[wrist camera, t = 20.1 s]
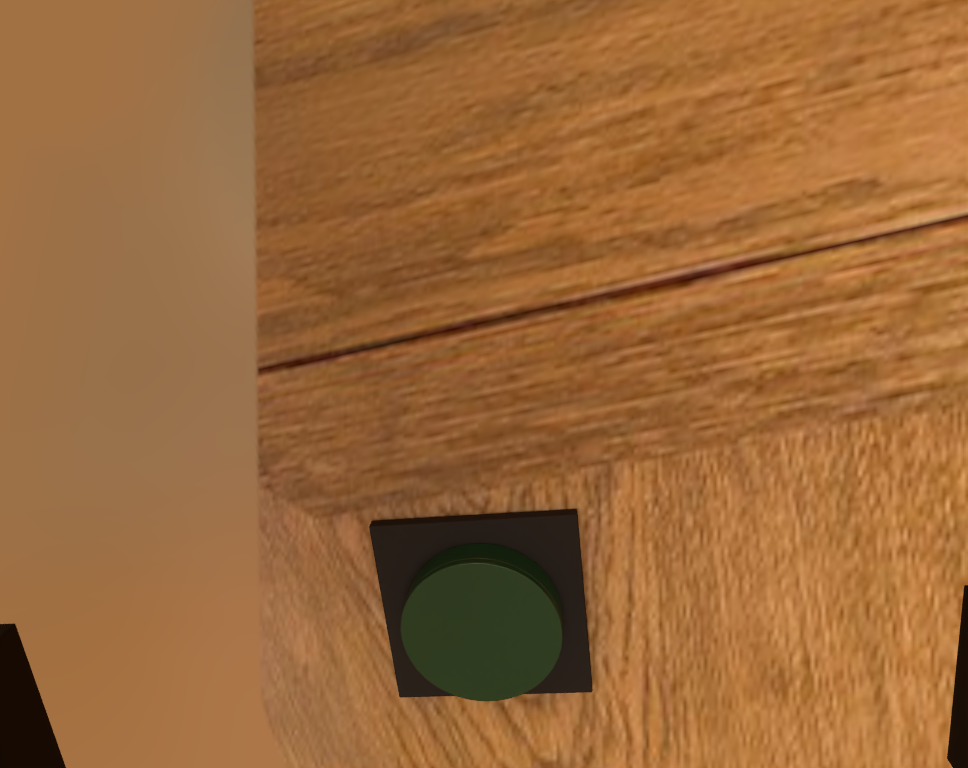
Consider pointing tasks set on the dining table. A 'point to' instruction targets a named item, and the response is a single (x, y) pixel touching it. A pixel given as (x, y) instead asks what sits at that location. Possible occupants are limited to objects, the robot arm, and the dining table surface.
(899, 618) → the dining table surface
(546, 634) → the jar lid
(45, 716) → the robot arm
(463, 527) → the coaster
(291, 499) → the dining table surface
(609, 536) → the dining table surface
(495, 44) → the dining table surface
